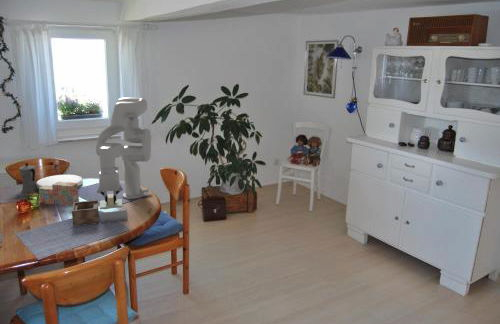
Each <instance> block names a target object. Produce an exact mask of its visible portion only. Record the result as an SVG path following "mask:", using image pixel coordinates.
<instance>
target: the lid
mask: <svg viewBox="0 0 500 324" xmlns="http://www.w3.org/2000/svg"><path fill="white" fill-rule="evenodd" d="M113 195H114V193H107V200H108V204H107V202H105V199H103V200H100V201H99V210H109V209H117V208H120V209H121V208H123V198H116V201H115V203H114V198H113Z"/></svg>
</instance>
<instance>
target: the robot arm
mask: <svg viewBox="0 0 500 324" xmlns="http://www.w3.org/2000/svg"><path fill="white" fill-rule="evenodd" d="M147 110H148V101H147V99H145V98H144V97H121V98H118V99H117V101H116V103H115V104H114V107H113V111H112V115H111V119H110V124H109V125H108V126H107V127H106V128H105V129H103V130H102V131H101V133H100V134H99V135H98V137H97V141H96V145H95V152H96V155H97V156H98V157H99V166H100V168H99V169H100V171H99V173H98V188H97V190H96V193H97V194H100V195H102V196H103V197H104V200H105V202H107V204H108V200H107V196H108V192H113V194H114V195H113V198H114V203H115V201H116V199H117V195H118V194H119V193H121V192H123V191H124V193H123V194H122V197H123V198H124V199H128V200H134V199H135V200H136V199H140V198H142V197H144V195H145V193H149V192H150V191H149V188H142V184H141V182H142V180H141V169H140V168H141V167H140V165H139V164H138V162H143V163H144V162H145V163H146V162H149V161H150V160H151V155H152V134H151V133H152V132H151V130H150V129H149V128H148V127H147V128H146V127H140V124H139V122H140V120H139V119H140V118H139V117H140V116H142V115H143V114H144V113H146V111H147ZM120 133H123V139H124V142H125V143H127V144H140V145H123V144H122V143H118V142H107V141H108V139H110V138H112V137H113V136H115V135H118V134H120ZM120 157H121V161H122V169H123V177H124V178H123V179H124V189H123V187H122V185H121V184H120V176H119V172H118V170H120V169H119V166H116V158H120Z"/></svg>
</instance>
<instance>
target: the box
mask: <svg viewBox="0 0 500 324" xmlns="http://www.w3.org/2000/svg"><path fill="white" fill-rule="evenodd" d="M99 210H100V208H99V200H98V199H96V200H95V199H94V200H85V201H79V202H74V204H73V206H72V208H71V217H72V227H76V226H75V225H79V226H84V225H83V224H88V225H94V224H93V223H97V224H99V220H98V219H100V212H99Z"/></svg>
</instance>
